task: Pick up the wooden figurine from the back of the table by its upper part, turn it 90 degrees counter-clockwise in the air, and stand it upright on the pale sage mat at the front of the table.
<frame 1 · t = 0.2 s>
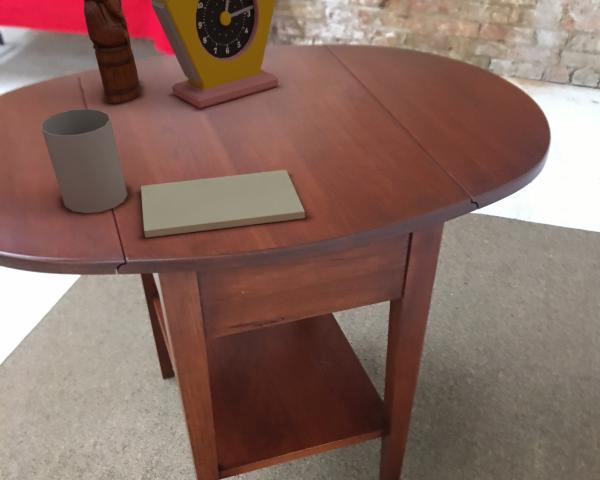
cup: (96, 198, 85), on the table
wooden figurine: (123, 93, 113), on the table
mat: (220, 205, 83), on the table
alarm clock: (226, 91, 112), on the table
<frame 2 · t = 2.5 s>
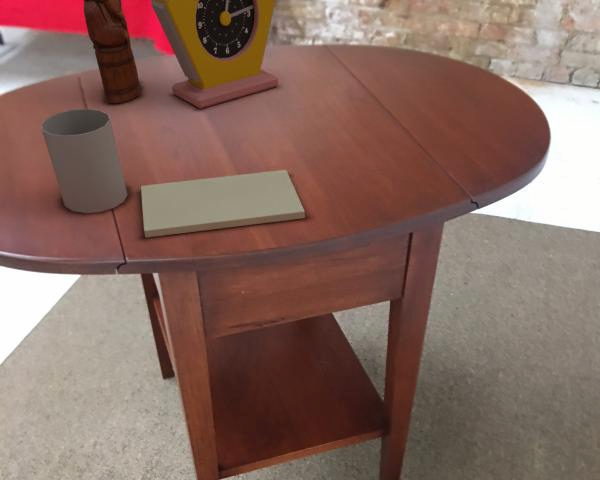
nothing on the table moved.
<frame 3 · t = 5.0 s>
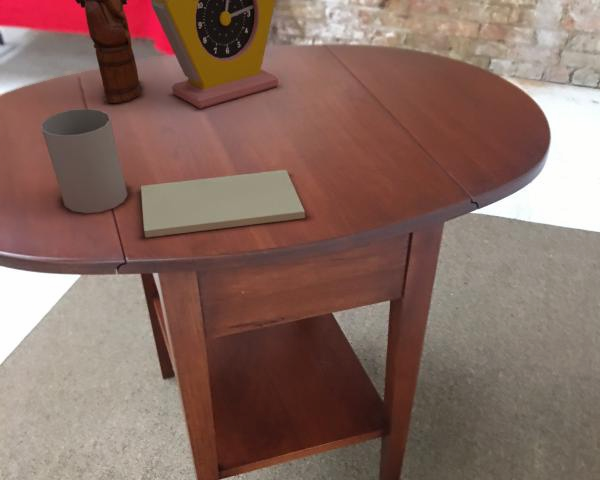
hand: (104, 4, 103), 14 cm above the table, tool pointing down, fingers closed on wooden figurine, 6 cm apart
wooden figurine: (123, 93, 113), on the table, touching gripper
everything else where it was.
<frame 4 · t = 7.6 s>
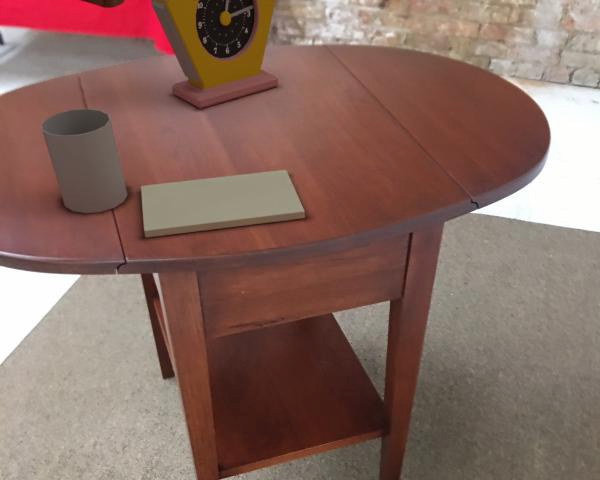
wooden figurine: (100, 2, 103), point 14 cm above the table, touching gripper
everything else where it was.
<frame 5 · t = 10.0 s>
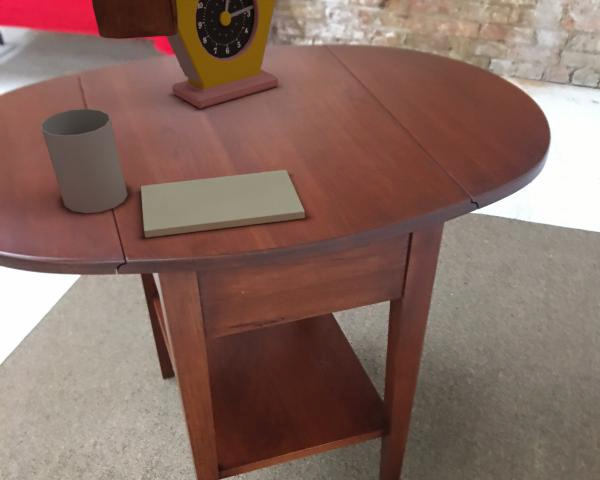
wooden figurine: (139, 35, 91), point 14 cm above the table, touching gripper
everything else where it was.
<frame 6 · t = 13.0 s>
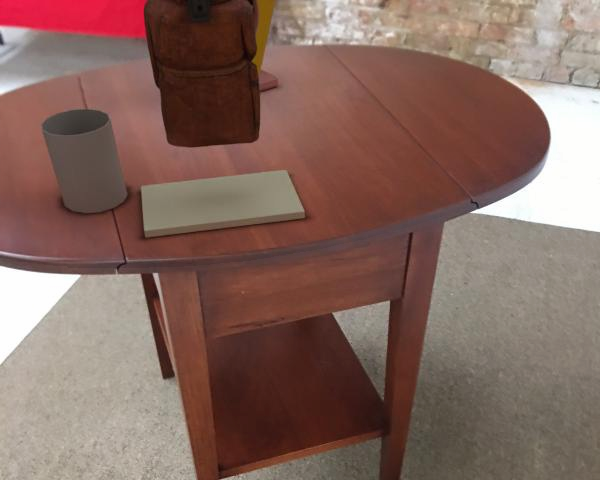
hand: (197, 12, 67), 22 cm above the table, tool pointing down, fingers closed on wooden figurine, 6 cm apart
wooden figurine: (212, 140, 77), point 8 cm above the table, touching gripper
everything else where it was.
when the fingers open (15 cm above the table, at t = 15.3 s): wooden figurine stays where it is, resting on mat.
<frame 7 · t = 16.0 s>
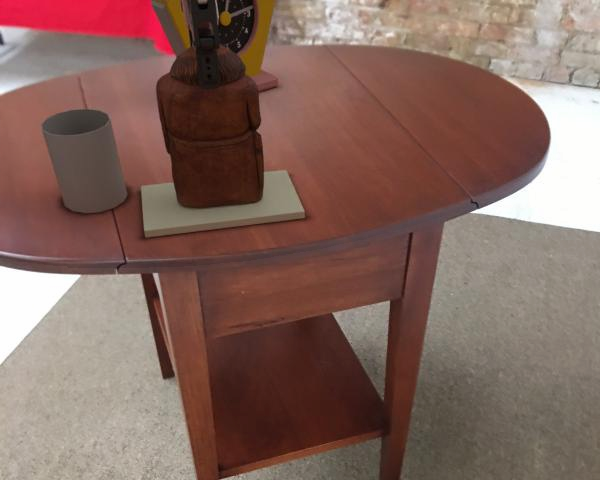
hand: (205, 74, 72), 16 cm above the table, tool pointing down, fingers open, 8 cm apart
wooden figurine: (219, 199, 82), point 1 cm above the table, touching mat
everything else where it was.
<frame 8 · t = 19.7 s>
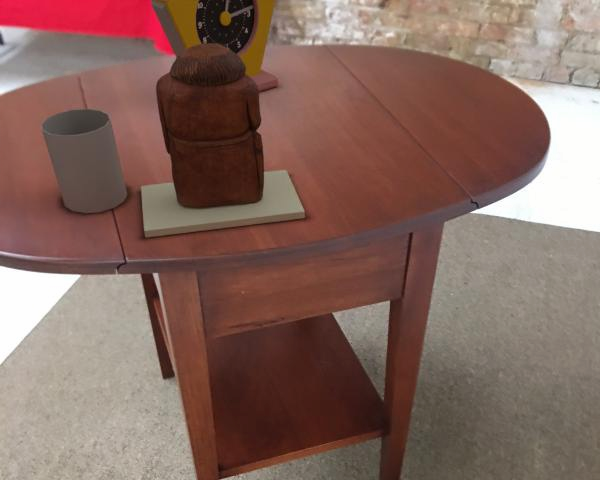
nothing on the table moved.
at the end: wooden figurine inside the target area on the mat (0.1 cm from its centre), point 0.8 cm above the mat's base; wooden figurine tilted 0°; the gripper is holding nothing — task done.
